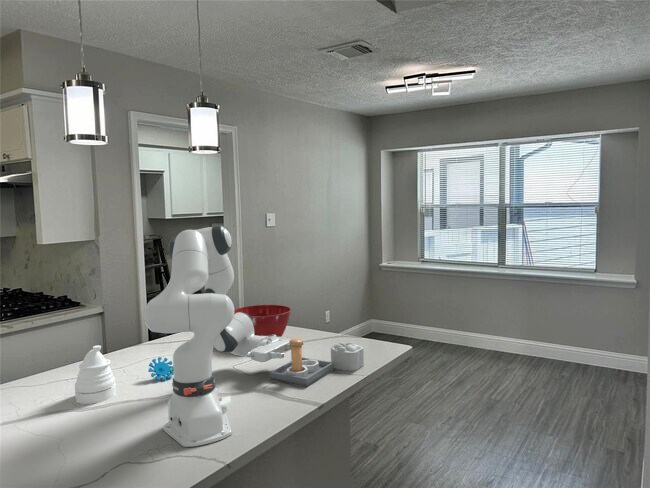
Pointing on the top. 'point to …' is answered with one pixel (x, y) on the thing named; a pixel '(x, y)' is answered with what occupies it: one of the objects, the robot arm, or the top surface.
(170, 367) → the blue knobbed disc
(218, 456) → the top surface
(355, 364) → the lumpy-topped squat cylinder
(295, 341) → the round-headed peg
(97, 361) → the honey pot
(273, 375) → the tray
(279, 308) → the mixing bowl
